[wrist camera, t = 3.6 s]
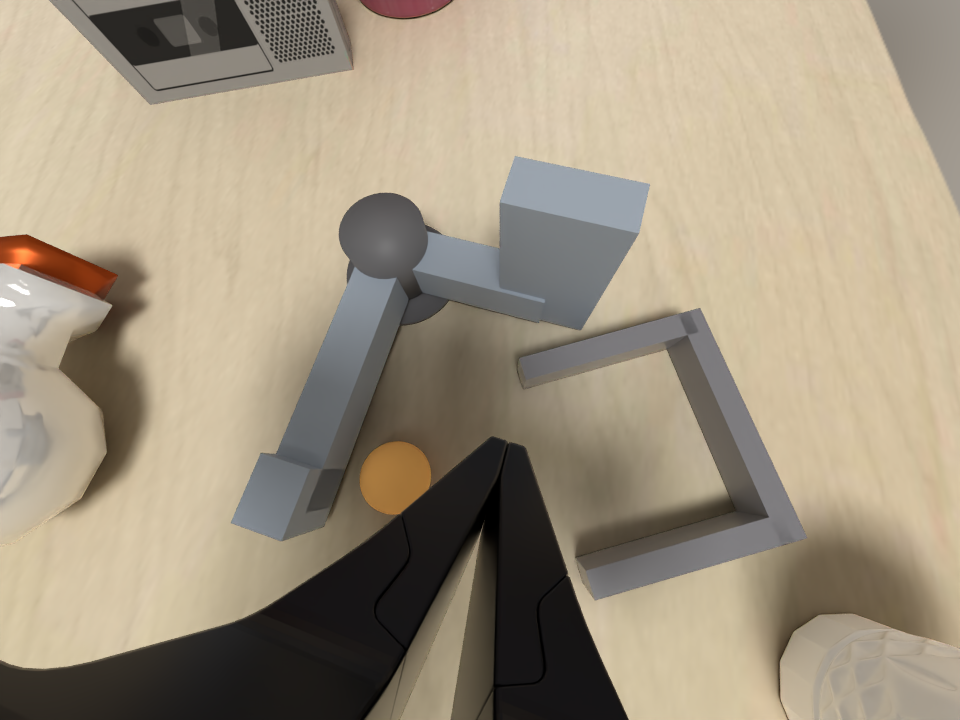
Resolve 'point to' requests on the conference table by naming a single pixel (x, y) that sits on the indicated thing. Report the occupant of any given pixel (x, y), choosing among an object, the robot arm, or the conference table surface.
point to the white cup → (867, 673)
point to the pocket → (730, 440)
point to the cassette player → (212, 42)
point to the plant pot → (404, 7)
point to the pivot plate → (416, 300)
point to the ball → (394, 477)
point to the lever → (447, 274)
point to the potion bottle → (45, 382)
